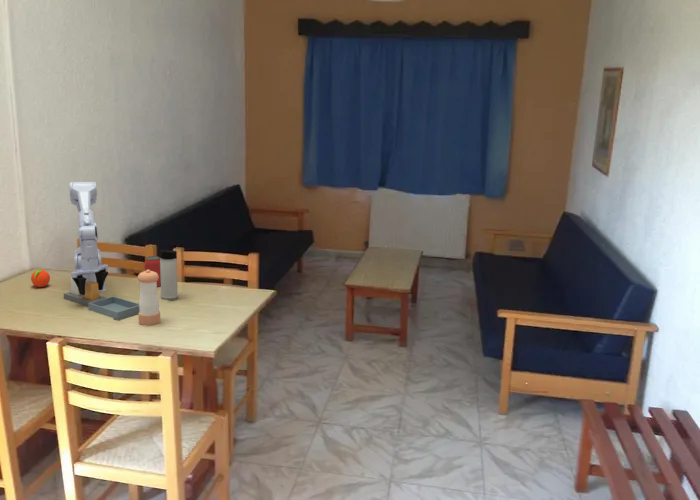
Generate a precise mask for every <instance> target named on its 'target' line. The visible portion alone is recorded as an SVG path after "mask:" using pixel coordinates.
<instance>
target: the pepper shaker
mask: <svg viewBox="0 0 700 500" xmlns="http://www.w3.org/2000/svg"><path fill="white" fill-rule="evenodd" d="M158 278H159V276H158V274H157V273H156V272H153V271H150V270H146V271H145V270H143V271H142V272H140V273H139V274H138V275H137V281H138V282H139V283H140V284H139V285H140V286H139V289H140V295H139V300H138V301H139V303H138V304H139V310H140V312H139V314H138V324H140V325H142V326H154V325H157V324H158V325H159V324H160V323H161V311H160V301H159V297H158V288H157V282H156V281H158Z"/></svg>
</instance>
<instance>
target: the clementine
mask: <svg viewBox="0 0 700 500" xmlns="http://www.w3.org/2000/svg"><path fill="white" fill-rule="evenodd" d="M50 280H51V276H50V273H49V272H48V271H46V270H44V269H37V270H35V271H34V272H32V274H31V277H30V281H31V283H32V285H34V286H35V287H38V288H44V287H46V286H47V285H49V283H50V282H51V281H50Z"/></svg>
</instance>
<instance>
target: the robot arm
mask: <svg viewBox="0 0 700 500" xmlns="http://www.w3.org/2000/svg"><path fill="white" fill-rule="evenodd" d="M68 185H69V186H68V189H69V196H70V197H69V198H70V202H71V204H72V205H74V206H75V207H76V208H77V211H78V213H77V220H78V229H77V231H78V232H77V234H78V241H79V245H80V246H79V247H77V249H75V250H74V252H73V262H74V270H73V271H71V272H70V275H71V277H70V278H72V279H73V280H74V281H75V283H76V285H77V287H78V290H79V293H80V294H81V295H85V282H87V281H94V282H97V283H98V291H99V293H101V292H105V291H108V289H107V288H106V285H107V284H106V279H107V277H108V275H109V265H108V264H102V256H101V250H100V249H99V248H98V240H99V229H98V226H97V222H96V218H95V213H94V211H93V210H91V207H92V205H94V204H96V201H97V196H98V191H97V190H98V188H97V182H96V181H70V182H69V184H68Z"/></svg>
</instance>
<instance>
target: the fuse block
mask: <svg viewBox="0 0 700 500" xmlns="http://www.w3.org/2000/svg"><path fill="white" fill-rule="evenodd" d="M105 298H107V297H105V296H103V295H99V299H95V300H92V301H91V300H88V299H85V298H84V295H81V296H76V295H73V294H71V291H69V292H63V299H64V300H66V301H70V302H73V303H76V304H77V305H78V304H79V305H82V306H85V307H88V303H91V302H94V301H98V300H101V299H105Z"/></svg>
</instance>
